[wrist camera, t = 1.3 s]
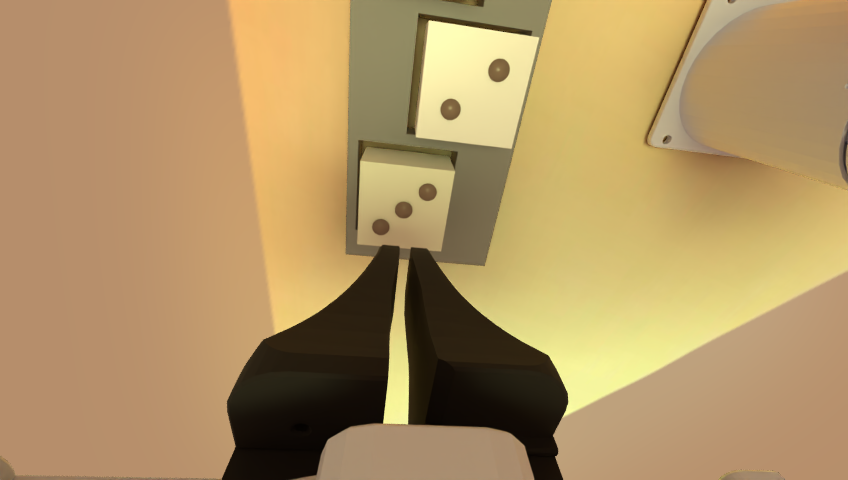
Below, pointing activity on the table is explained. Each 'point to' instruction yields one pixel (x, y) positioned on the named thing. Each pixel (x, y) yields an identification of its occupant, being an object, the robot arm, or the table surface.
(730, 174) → the table surface
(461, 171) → the tile board
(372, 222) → the tile three
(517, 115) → the tile two
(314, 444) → the robot arm
